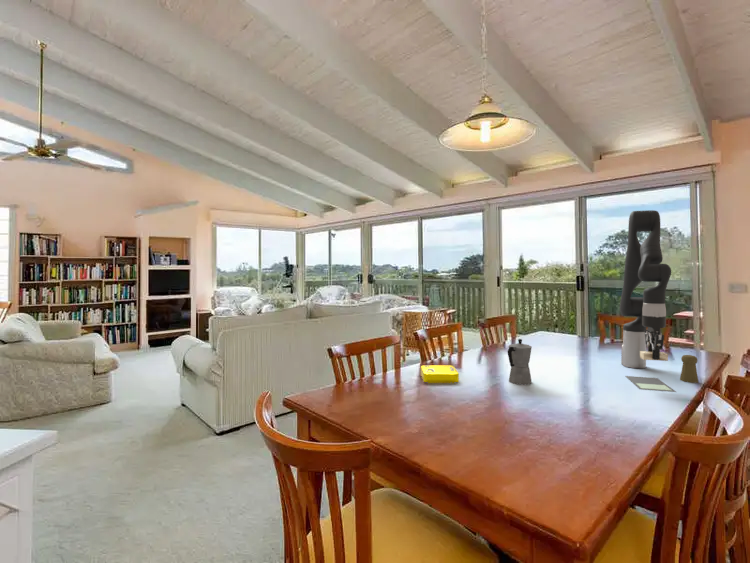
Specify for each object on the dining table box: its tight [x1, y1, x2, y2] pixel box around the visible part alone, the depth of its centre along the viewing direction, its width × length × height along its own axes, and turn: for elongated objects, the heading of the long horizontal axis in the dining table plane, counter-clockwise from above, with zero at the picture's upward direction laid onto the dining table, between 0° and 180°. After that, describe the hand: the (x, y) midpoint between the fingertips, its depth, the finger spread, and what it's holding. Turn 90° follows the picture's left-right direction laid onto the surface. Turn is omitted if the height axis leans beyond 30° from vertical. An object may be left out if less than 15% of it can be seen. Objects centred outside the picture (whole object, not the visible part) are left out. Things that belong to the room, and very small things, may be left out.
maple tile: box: [640, 350, 669, 362], centre depth 153 cm, size 8×4×2 cm, turn 71°
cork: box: [679, 354, 699, 384], centre depth 161 cm, size 6×6×11 cm
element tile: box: [420, 364, 460, 384], centre depth 171 cm, size 15×15×5 cm
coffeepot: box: [507, 338, 533, 385], centre depth 163 cm, size 15×9×18 cm, turn 129°
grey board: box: [625, 375, 677, 393], centre depth 158 cm, size 20×12×1 cm, turn 161°
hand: (653, 357), depth 153 cm, fingers closed on maple tile, 4 cm apart
